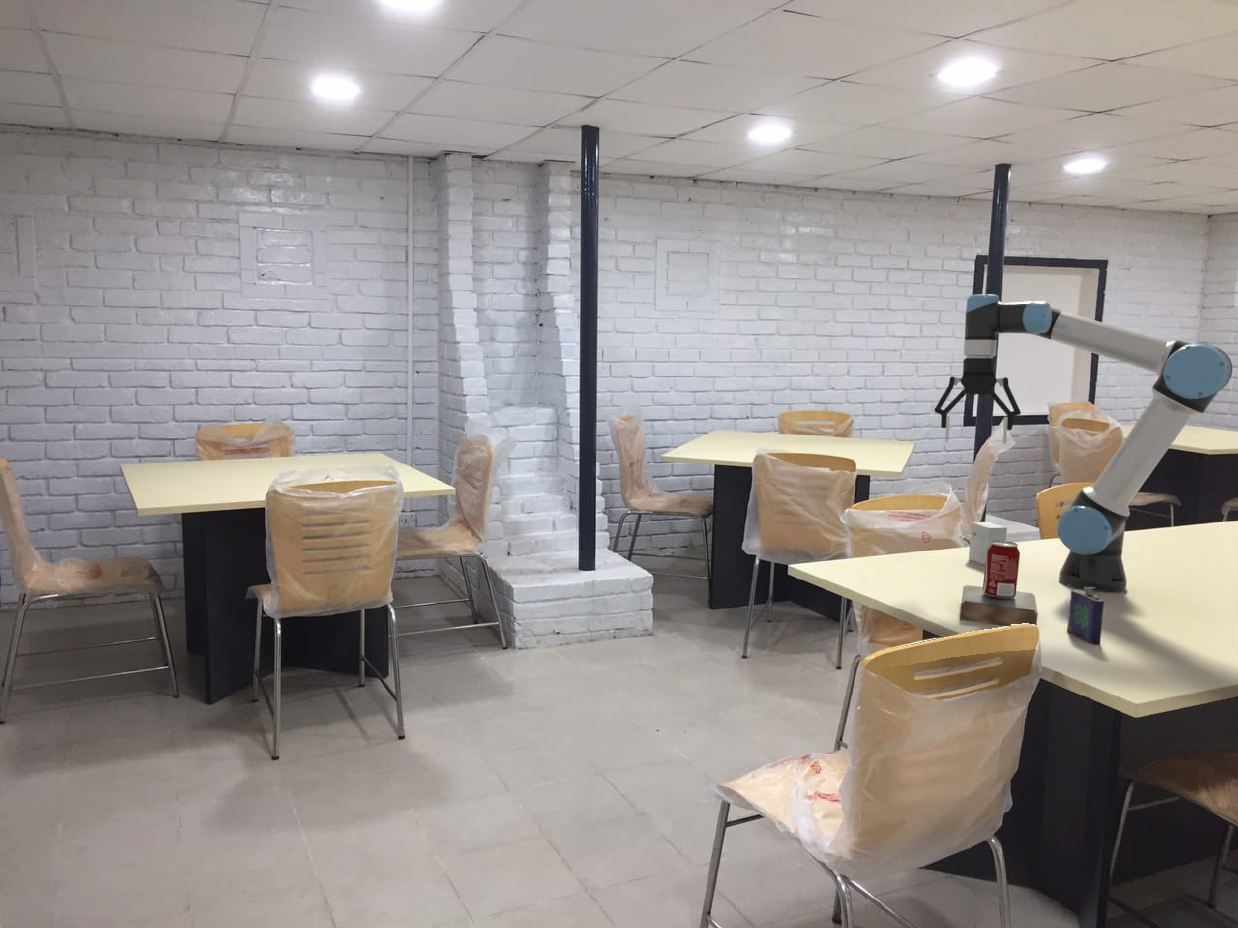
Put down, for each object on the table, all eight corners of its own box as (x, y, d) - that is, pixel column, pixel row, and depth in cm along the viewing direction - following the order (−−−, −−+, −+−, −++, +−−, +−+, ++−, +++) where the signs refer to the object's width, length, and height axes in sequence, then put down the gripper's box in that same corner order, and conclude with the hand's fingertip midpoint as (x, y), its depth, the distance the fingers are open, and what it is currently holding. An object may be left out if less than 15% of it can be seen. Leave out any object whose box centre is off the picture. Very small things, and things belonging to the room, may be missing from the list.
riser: (1032, 610, 217) (1034, 592, 216) (1035, 629, 202) (1037, 610, 201) (961, 601, 222) (963, 584, 221) (959, 619, 207) (961, 601, 206)
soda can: (1018, 602, 207) (1023, 547, 206) (985, 599, 209) (990, 544, 207) (1011, 594, 214) (1017, 541, 212) (979, 591, 215) (985, 538, 214)
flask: (1064, 630, 202) (1069, 580, 201) (1077, 630, 202) (1082, 580, 201) (1091, 645, 193) (1097, 592, 192) (1104, 645, 193) (1111, 593, 192)
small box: (1004, 565, 260) (1007, 527, 258) (985, 566, 258) (989, 527, 257) (985, 558, 267) (989, 521, 266) (968, 559, 266) (971, 521, 264)
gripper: (1032, 358, 241) (1027, 443, 243) (927, 357, 249) (923, 439, 251) (1035, 357, 234) (1030, 445, 236) (926, 356, 242) (923, 441, 244)
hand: (975, 442), depth 244 cm, fingers open, 13 cm apart
